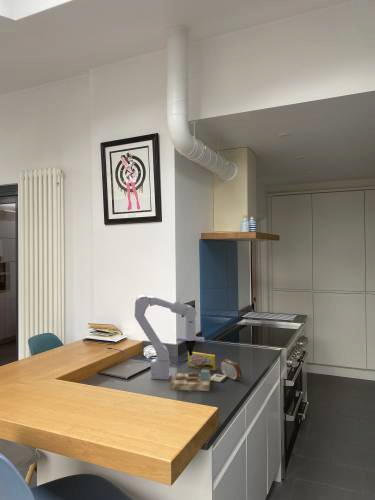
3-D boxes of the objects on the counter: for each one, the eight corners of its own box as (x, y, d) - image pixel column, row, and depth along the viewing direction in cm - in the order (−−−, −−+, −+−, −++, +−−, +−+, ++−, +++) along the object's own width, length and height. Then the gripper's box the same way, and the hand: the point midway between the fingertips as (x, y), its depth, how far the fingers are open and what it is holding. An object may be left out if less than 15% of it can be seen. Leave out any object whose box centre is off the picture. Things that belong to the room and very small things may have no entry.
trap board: (170, 389, 175) (170, 380, 175) (175, 379, 189) (175, 370, 189) (209, 390, 173) (209, 381, 173) (210, 380, 187) (210, 371, 187)
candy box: (187, 366, 209) (187, 351, 209) (189, 365, 211) (189, 350, 211) (213, 370, 202) (213, 355, 202) (215, 369, 204) (215, 354, 204)
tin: (242, 381, 185) (242, 364, 185) (237, 382, 184) (236, 365, 184) (224, 372, 198) (224, 357, 198) (219, 373, 197) (219, 358, 197)
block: (200, 380, 179) (200, 372, 179) (201, 377, 183) (201, 369, 183) (209, 380, 178) (209, 372, 178) (209, 377, 182) (209, 369, 182)
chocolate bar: (234, 370, 200) (222, 381, 184) (234, 372, 200) (222, 383, 184) (219, 368, 204) (205, 378, 188) (219, 370, 204) (205, 380, 188)
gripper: (175, 330, 192) (176, 357, 192) (203, 330, 190) (204, 357, 190) (177, 327, 199) (177, 353, 199) (204, 327, 197) (205, 353, 197)
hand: (190, 355), depth 195 cm, fingers closed
